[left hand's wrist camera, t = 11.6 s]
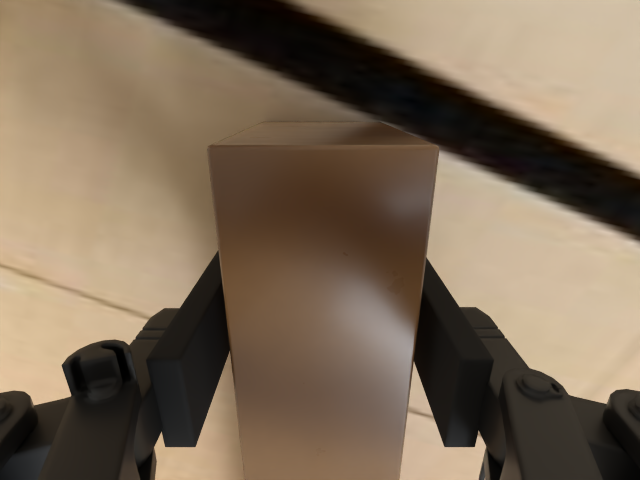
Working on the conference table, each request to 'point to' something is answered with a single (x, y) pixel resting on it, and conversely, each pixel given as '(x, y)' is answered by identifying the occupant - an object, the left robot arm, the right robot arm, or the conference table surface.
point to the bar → (322, 291)
